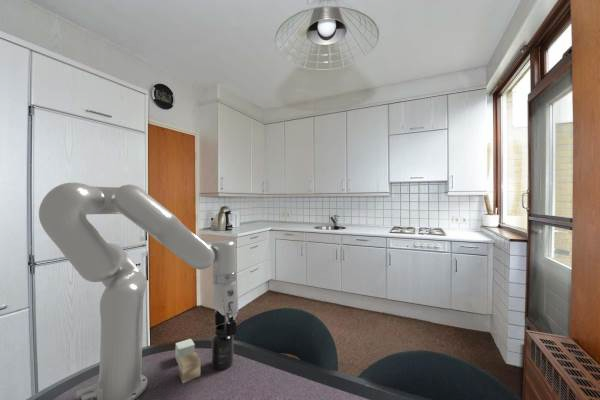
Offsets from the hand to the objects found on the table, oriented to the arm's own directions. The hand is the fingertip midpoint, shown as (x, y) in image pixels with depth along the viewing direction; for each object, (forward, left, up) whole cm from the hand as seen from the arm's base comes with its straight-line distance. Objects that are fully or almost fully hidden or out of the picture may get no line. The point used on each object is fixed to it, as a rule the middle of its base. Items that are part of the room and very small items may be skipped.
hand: (225, 329), depth 81 cm
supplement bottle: (-1, 0, -11) cm, 11 cm away
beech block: (-11, +1, -11) cm, 16 cm away
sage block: (-10, +11, -11) cm, 19 cm away
